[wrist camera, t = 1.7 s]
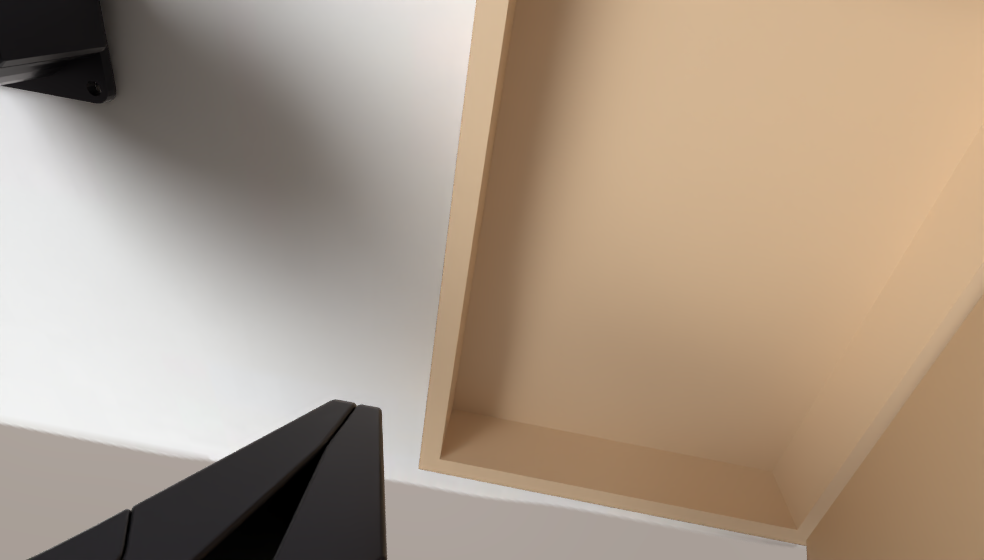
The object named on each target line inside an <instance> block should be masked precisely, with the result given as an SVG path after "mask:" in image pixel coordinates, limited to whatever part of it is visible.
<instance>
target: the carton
mask: <svg viewBox="0 0 984 560" xmlns="http://www.w3.org/2000/svg"><path fill="white" fill-rule="evenodd" d="M983 294H984V0H476V8H475V16H474V24H473V32H472V40H471V48H470V56H469V64H468V72H467V80H466V89H465V97H464V105H463V113H462V121H461V129H460V137H459V145H458V153H457V161H456V169H455V178H454V186H453V194H452V202H451V210H450V218H449V226H448V234H447V242H446V250H445V258H444V267H443V275H442V283H441V291H440V299H439V307H438V315H437V323H436V331H435V339H434V347H433V356H432V364H431V372H430V380H429V388H428V396H427V404H426V412H425V420H424V428H423V436H422V445H421V453H420V461H419V469H422V470H427V471H432V472H437V473H442V474H447V475H452V476H457V477H462V478H467V479H472V480H477V481H482V482H487V483H492V484H497V485H502V486H507V487H512V488H517V489H522V490H527V491H532V492H537V493H542V494H547V495H553V496H558V497H563V498H568V499H573V500H578V501H583V502H588V503H593V504H598V505H603V506H608V507H613V508H618V509H623V510H628V511H633V512H638V513H643V514H648V515H653V516H658V517H663V518H668V519H673V520H678V521H683V522H688V523H693V524H698V525H703V526H708V527H714V528H719V529H724V530H729V531H734V532H739V533H744V534H749V535H754V536H759V537H764V538H769V539H774V540H779V541H784V542H789V543H794V544H799V545H804V546H807V544H806V540H807V539H808V537H809V536H810V534H811V533H812V532H813V530H814V529H815V527H816V526H817V525H818V523H819V522H820V520H821V519H822V518H823V516H824V515H825V514H826V512H827V511H828V509H829V508H830V507H831V505H832V504H833V502H834V501H835V500H836V498H837V497H838V495H839V494H840V493H841V491H842V490H843V489H844V487H845V486H846V484H847V483H848V482H849V480H850V479H851V477H852V476H853V475H854V473H855V472H856V471H857V469H858V468H859V466H860V465H861V464H862V462H863V461H864V459H865V458H866V457H867V455H868V454H869V452H870V451H871V450H872V448H873V447H874V446H875V444H876V443H877V441H878V440H879V439H880V437H881V436H882V434H883V433H884V432H885V430H886V429H887V427H888V426H889V425H890V423H891V422H892V421H893V419H894V418H895V416H896V415H897V414H898V412H899V411H900V409H901V408H902V407H903V405H904V404H905V402H906V401H907V400H908V398H909V397H910V396H911V394H912V393H913V391H914V390H915V389H916V387H917V386H918V384H919V383H920V382H921V380H922V379H923V377H924V376H925V375H926V373H927V372H928V371H929V369H930V368H931V366H932V365H933V364H934V362H935V361H936V359H937V358H938V357H939V355H940V354H941V352H942V351H943V350H944V348H945V347H946V346H947V344H948V343H949V341H950V340H951V339H952V337H953V336H954V334H955V333H956V332H957V330H958V329H959V327H960V326H961V325H962V323H963V322H964V321H965V319H966V318H967V316H968V315H969V314H970V312H971V311H972V309H973V308H974V307H975V305H976V304H977V302H978V301H979V300H980V298H981V297H982V296H983Z"/></svg>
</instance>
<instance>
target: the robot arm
mask: <svg viewBox="0 0 984 560" xmlns="http://www.w3.org/2000/svg"><path fill="white" fill-rule="evenodd" d="M95 82H96V83H97V84H98V85H99V87H100V89H101V93H100V92H99V91H98V90H97V88H96V86H95ZM0 85H1V86H7V87H12V88H18V89H23V90H28V91H34V92H39V93H44V94H50V95H55V96H60V97H66V98H71V99H77V100H82V101H87V102H93V103H104V102H108V101H111V100H112V99H114V97H115V95H116V87H115V82H114V77H113V71H112V66H111V61H110V55H109V50H108V45H107V40H106V34H105V29H104V24H103V19H102V13H101V8H100V3H99V0H0ZM385 516H386V515H385V489H384V460H383V433H382V411H381V409H380V408H377V407H372V406H367V405H358V406H357V405H356V404H355V403H352V402H347V401H342V400H332V401H329V402H327V403H326V404H324V405H322V406H320V407H318V408H316V409H314V410H312V411H311V412H309V413H307V414H305V415H303V416H301V417H299V418H297V419H296V420H294V421H292V422H290V423H288V424H286V425H284V426H283V427H281V428H279V429H277V430H275V431H273V432H271V433H269V434H268V435H266V436H264V437H262V438H260V439H258V440H256V441H254V442H253V443H251V444H249V445H247V446H245V447H243V448H241V449H239V450H238V451H236V452H234V453H232V454H230V455H228V456H226V457H225V458H223V459H221V460H219V461H217V462H215V463H213V464H211V465H210V466H208V467H206V468H204V469H202V470H200V471H198V472H196V473H195V474H193V475H191V476H189V477H187V478H185V479H184V480H182V481H180V482H178V483H176V484H174V485H172V486H170V487H168V488H167V489H165V490H163V491H161V492H159V493H158V494H155V495H153V496H152V497H150V498H148V499H146V500H144V501H143V502H140V503H138V504H137V505H135V506H133V508H132V510H131V511H130V510H129V509H126V510H124V511H122V512H120V513H118V514H116V515H114V516H112V517H110V518H108V519H107V520H105V521H103V522H101V523H99V524H97V525H96V526H93V527H91V528H89V529H87V530H86V531H84V532H82V533H80V534H78V535H76V536H74V537H72V538H70V539H68V540H66V541H64V542H62V543H60V544H58V545H56V546H54V547H52V548H50V549H48V550H46V551H44V552H42V553H40V554H38V555H36V556H34V557H31V558H29V559H27V560H387V543H386V517H385Z"/></svg>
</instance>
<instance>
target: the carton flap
mask: <svg viewBox="0 0 984 560" xmlns="http://www.w3.org/2000/svg"><path fill="white" fill-rule="evenodd" d="M806 544H807V560H984V294H983V296H982V297H981V298H980V300H979V301H978V302H977V304H976V305H975V307H974V308H973V309H972V311H971V312H970V314H969V315H968V316H967V318H966V319H965V321H964V322H963V323H962V325H961V326H960V327H959V329H958V330H957V332H956V333H955V334H954V336H953V337H952V339H951V340H950V341H949V343H948V344H947V346H946V347H945V348H944V350H943V351H942V352H941V354H940V355H939V357H938V358H937V359H936V361H935V362H934V364H933V365H932V366H931V368H930V369H929V371H928V372H927V373H926V375H925V376H924V377H923V379H922V380H921V382H920V383H919V384H918V386H917V387H916V389H915V390H914V391H913V393H912V394H911V396H910V397H909V398H908V400H907V401H906V402H905V404H904V405H903V407H902V408H901V409H900V411H899V412H898V414H897V415H896V416H895V418H894V419H893V421H892V422H891V423H890V425H889V426H888V427H887V429H886V430H885V432H884V433H883V434H882V436H881V437H880V439H879V440H878V441H877V443H876V444H875V446H874V447H873V448H872V450H871V451H870V452H869V454H868V455H867V457H866V458H865V459H864V461H863V462H862V464H861V465H860V466H859V468H858V469H857V471H856V472H855V473H854V475H853V476H852V477H851V479H850V480H849V482H848V483H847V484H846V486H845V487H844V489H843V490H842V491H841V493H840V494H839V495H838V497H837V498H836V500H835V501H834V502H833V504H832V505H831V507H830V508H829V509H828V511H827V512H826V514H825V515H824V516H823V518H822V519H821V520H820V522H819V523H818V525H817V526H816V527H815V529H814V530H813V532H812V533H811V534H810V536H809V537H808V539H807V540H806Z"/></svg>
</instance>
